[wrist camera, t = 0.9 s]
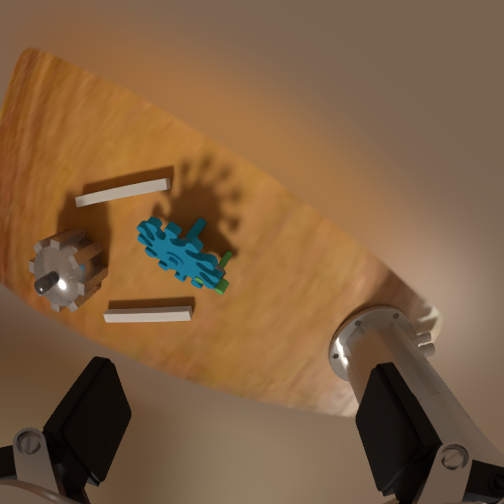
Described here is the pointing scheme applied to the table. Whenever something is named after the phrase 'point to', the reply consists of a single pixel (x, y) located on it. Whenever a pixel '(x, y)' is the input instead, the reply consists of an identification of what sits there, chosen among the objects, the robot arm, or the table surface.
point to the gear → (184, 253)
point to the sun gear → (67, 269)
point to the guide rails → (137, 313)
